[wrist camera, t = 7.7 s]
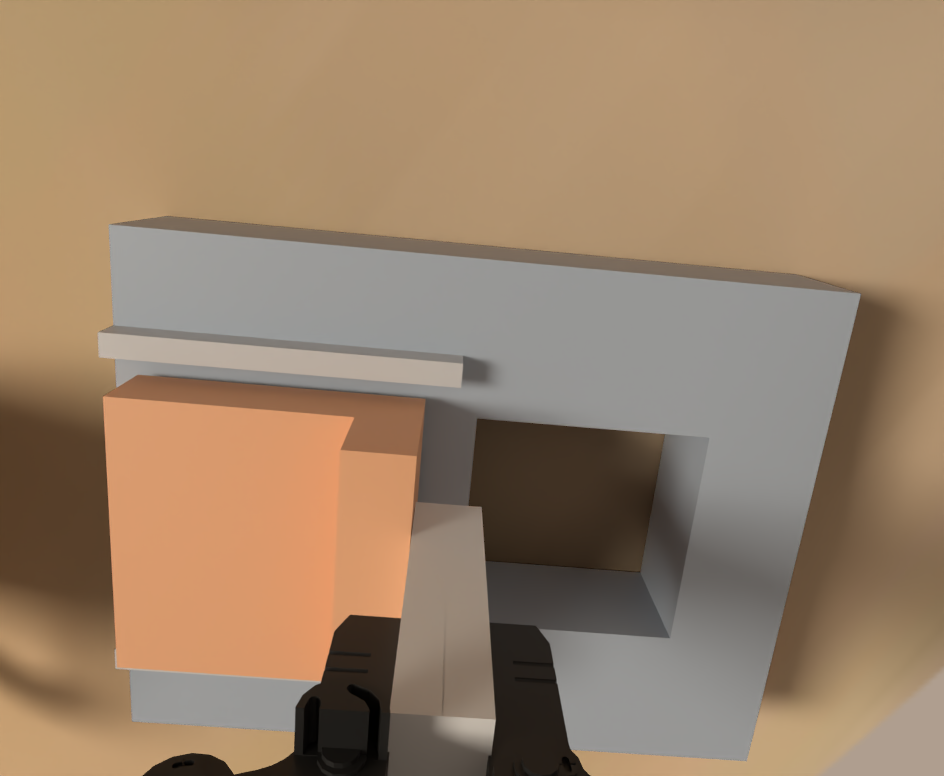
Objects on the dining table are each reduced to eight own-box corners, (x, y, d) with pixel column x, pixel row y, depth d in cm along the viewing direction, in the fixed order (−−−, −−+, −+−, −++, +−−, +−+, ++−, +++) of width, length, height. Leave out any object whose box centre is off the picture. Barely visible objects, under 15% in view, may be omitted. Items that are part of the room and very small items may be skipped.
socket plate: (167, 216, 20) (91, 226, 16) (796, 274, 21) (879, 299, 17) (177, 645, 24) (119, 742, 20) (707, 682, 25) (757, 782, 21)
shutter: (137, 374, 18) (53, 426, 14) (425, 398, 18) (416, 456, 14) (147, 624, 20) (76, 726, 16) (406, 642, 20) (394, 747, 16)
